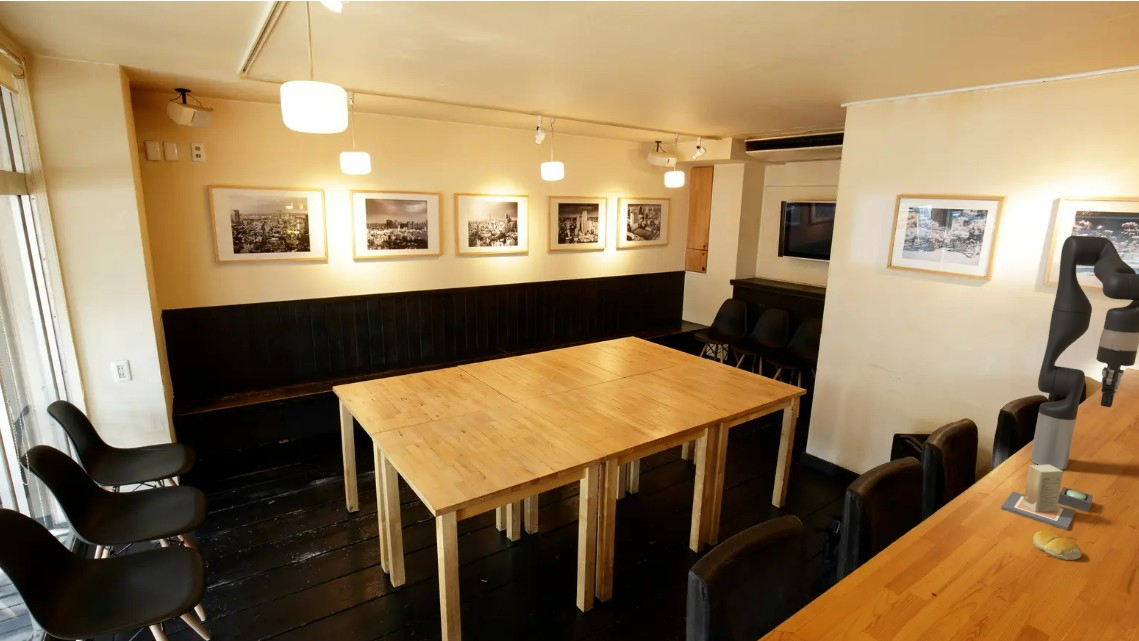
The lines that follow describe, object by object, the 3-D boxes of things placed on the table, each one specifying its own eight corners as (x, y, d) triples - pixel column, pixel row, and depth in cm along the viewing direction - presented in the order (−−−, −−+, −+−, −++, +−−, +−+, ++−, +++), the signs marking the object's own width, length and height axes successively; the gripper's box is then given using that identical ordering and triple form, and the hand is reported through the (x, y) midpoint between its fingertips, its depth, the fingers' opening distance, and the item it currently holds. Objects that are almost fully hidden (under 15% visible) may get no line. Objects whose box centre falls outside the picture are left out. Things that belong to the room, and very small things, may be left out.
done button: (1067, 494, 158) (1068, 488, 158) (1086, 499, 155) (1087, 494, 155) (1064, 499, 156) (1066, 493, 155) (1083, 504, 153) (1084, 498, 152)
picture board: (1012, 493, 161) (1012, 490, 161) (1075, 512, 151) (1076, 509, 151) (1001, 508, 153) (1001, 505, 153) (1067, 530, 143) (1067, 527, 143)
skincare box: (1043, 503, 154) (1050, 463, 152) (1057, 512, 150) (1064, 471, 147) (1021, 504, 154) (1028, 464, 151) (1034, 512, 150) (1041, 471, 147)
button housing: (1061, 495, 160) (1063, 486, 160) (1091, 504, 155) (1093, 495, 155) (1057, 502, 156) (1059, 494, 156) (1088, 512, 151) (1089, 502, 151)
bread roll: (1050, 538, 140) (1053, 524, 139) (1087, 559, 131) (1090, 545, 130) (1022, 540, 139) (1024, 526, 138) (1057, 562, 130) (1060, 547, 129)
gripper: (1102, 340, 155) (1091, 397, 159) (1095, 347, 147) (1084, 408, 150) (1139, 344, 150) (1127, 404, 153) (1135, 352, 141) (1122, 415, 145)
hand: (1105, 406), depth 152 cm, fingers closed
